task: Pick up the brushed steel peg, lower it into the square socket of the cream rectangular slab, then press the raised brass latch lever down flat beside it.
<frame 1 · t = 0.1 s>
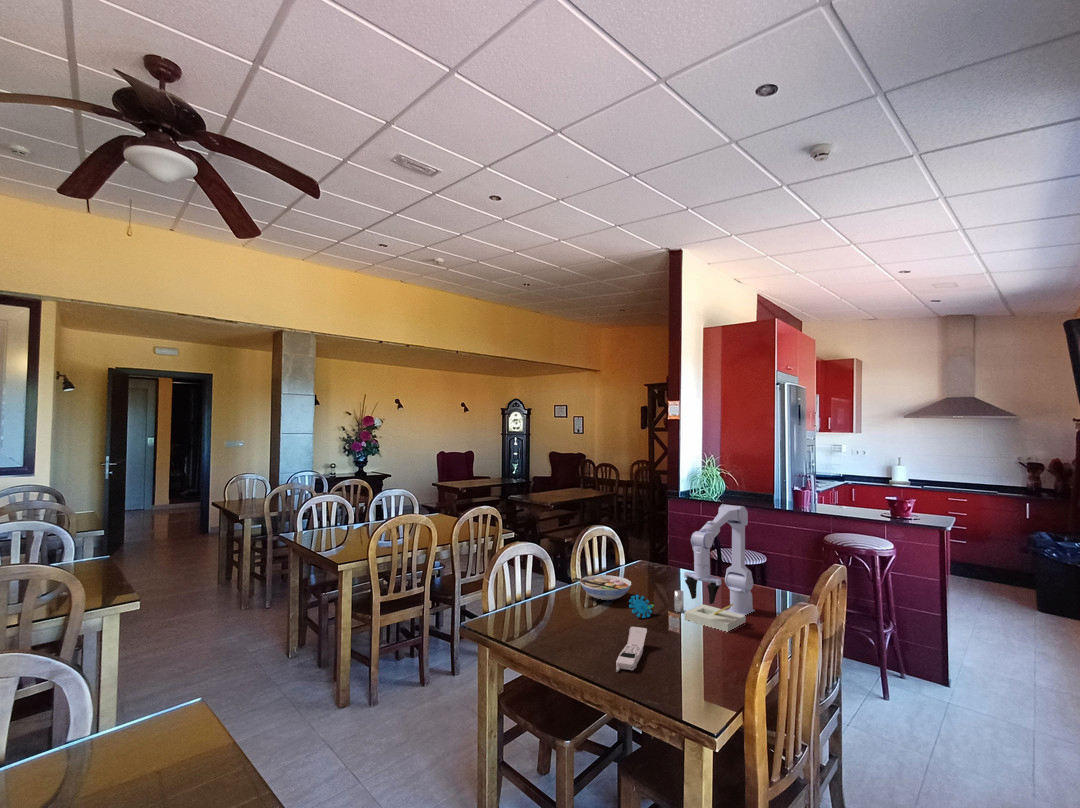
hand: (702, 600, 193), 10 cm above the table, tool pointing down, fingers open, 7 cm apart
peg: (679, 611, 212), on the table
blue spiky blob: (641, 616, 206), on the table
ramen bowl: (605, 599, 228), on the table
cream rectangular slab: (714, 621, 200), on the table
latch: (723, 609, 197), point 6 cm above the table, hinge at 35.0°, touching cream rectangular slab
mobile phone: (631, 659, 166), on the table
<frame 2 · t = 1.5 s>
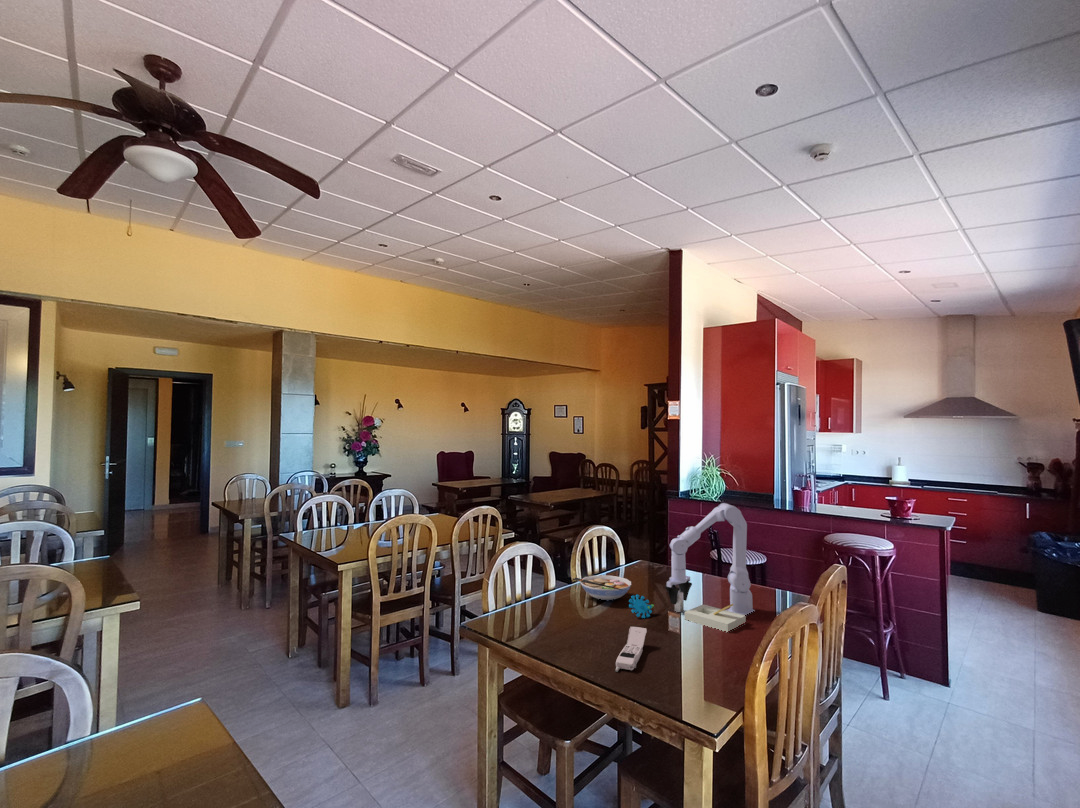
hand: (678, 601, 212), 4 cm above the table, tool pointing down, fingers open, 7 cm apart
nothing on the table moved.
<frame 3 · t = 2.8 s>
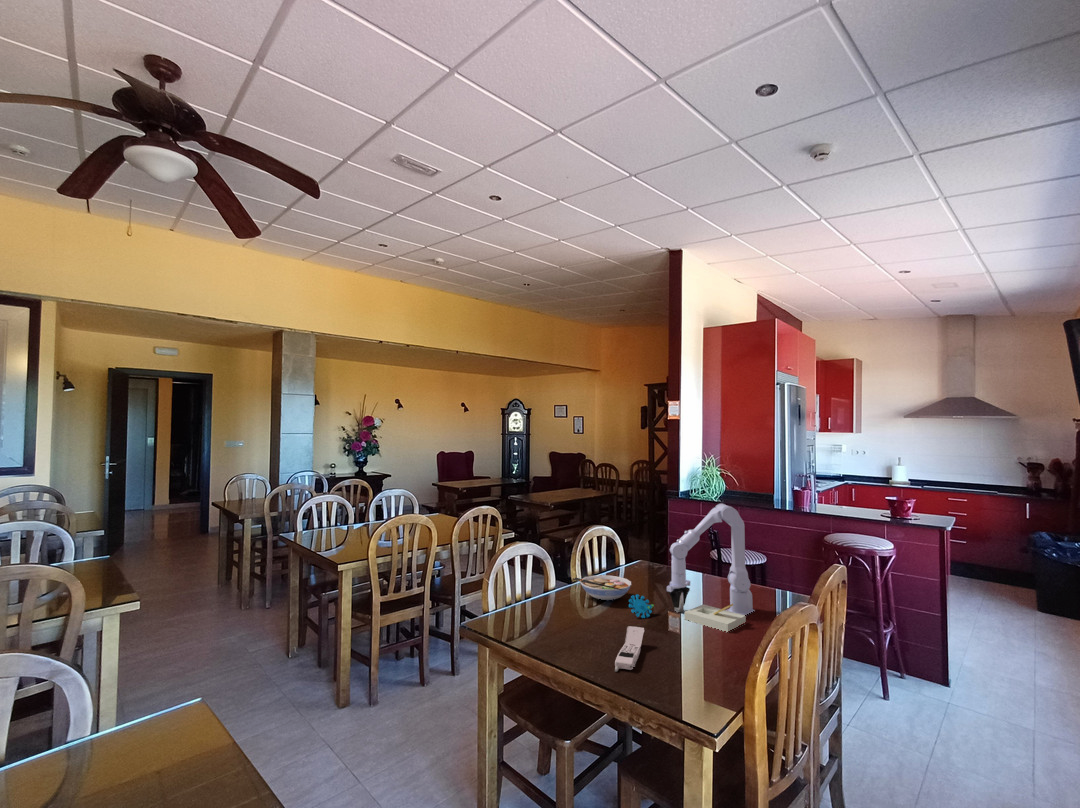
hand: (679, 606, 212), 2 cm above the table, tool pointing down, fingers closed on peg, 4 cm apart
peg: (679, 611, 212), on the table, touching gripper
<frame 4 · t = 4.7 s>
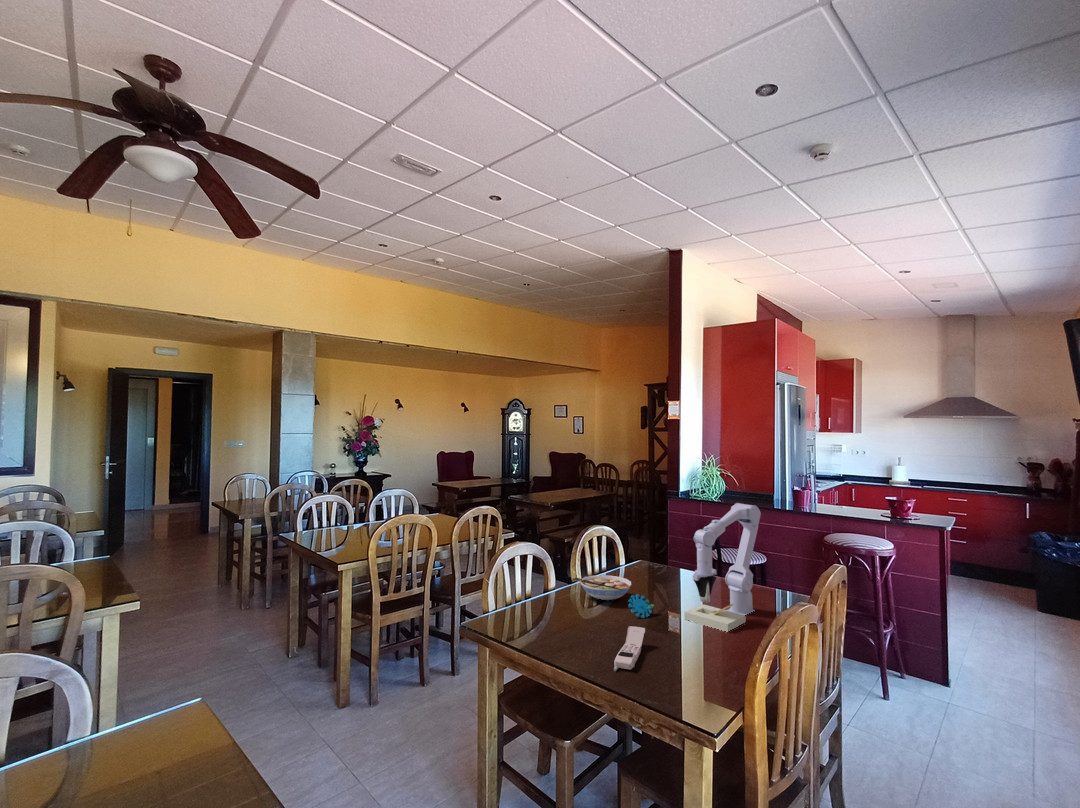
hand: (705, 595, 203), 9 cm above the table, tool pointing down, fingers closed on peg, 4 cm apart
peg: (705, 601, 203), point 7 cm above the table, touching gripper
everything else where it was.
when the fingers open (4 cm above the table, at t = 6.7 s): peg drops 2 cm, resting in cream rectangular slab.
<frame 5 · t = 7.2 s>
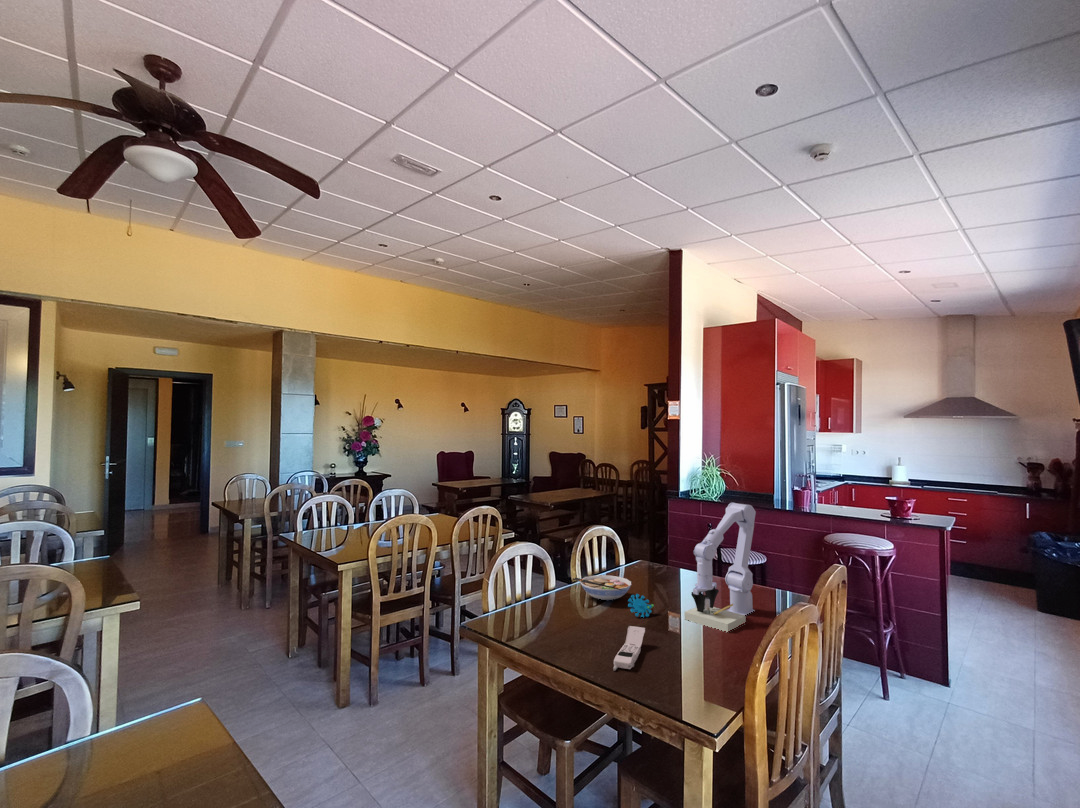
hand: (705, 609, 203), 4 cm above the table, tool pointing down, fingers open, 7 cm apart
peg: (705, 618, 203), resting in cream rectangular slab
everything else where it was.
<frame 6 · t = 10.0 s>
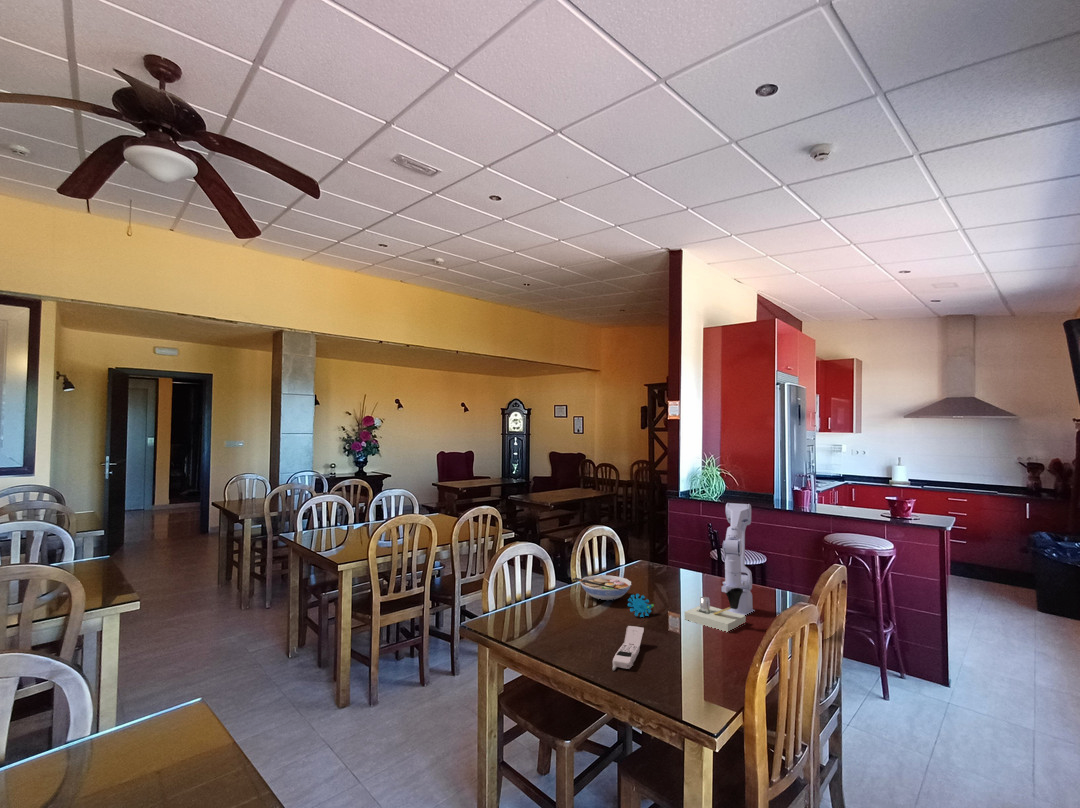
hand: (734, 608, 194), 7 cm above the table, tool pointing down, fingers closed, pressing on latch
latch: (723, 610, 197), point 5 cm above the table, hinge at 30.1°, touching gripper
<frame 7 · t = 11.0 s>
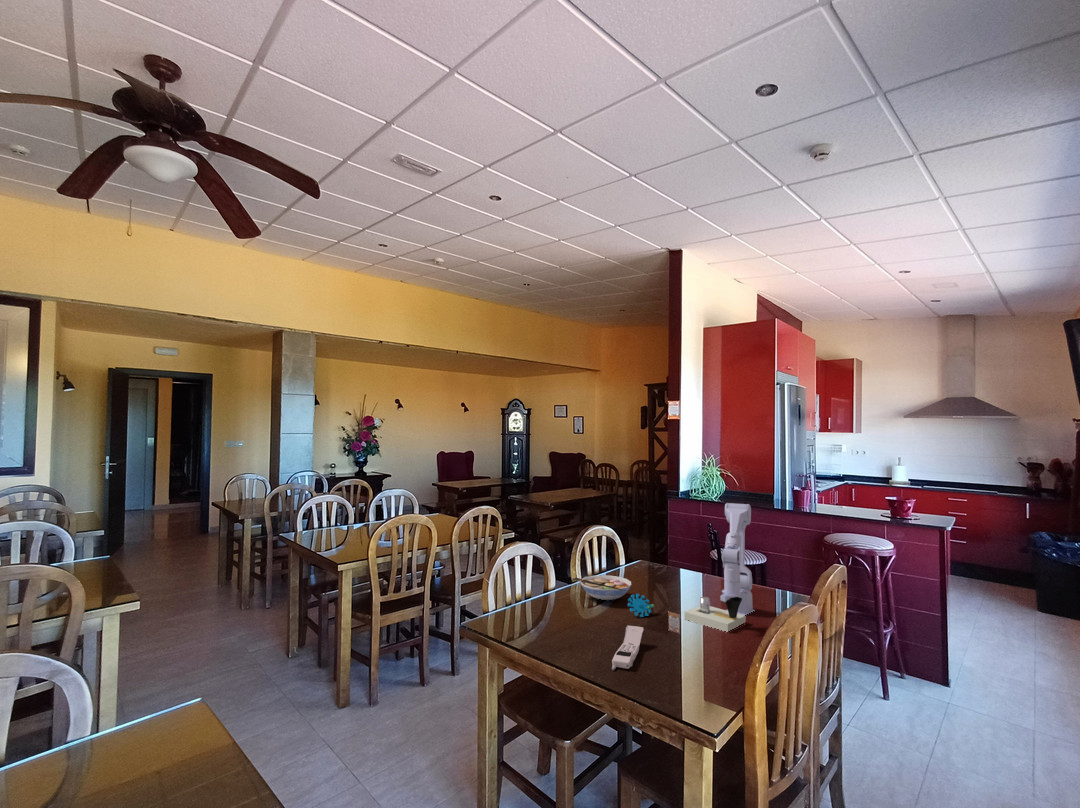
hand: (732, 617, 194), 4 cm above the table, tool pointing down, fingers closed
latch: (725, 615, 197), point 3 cm above the table, hinge at -0.1°, touching cream rectangular slab
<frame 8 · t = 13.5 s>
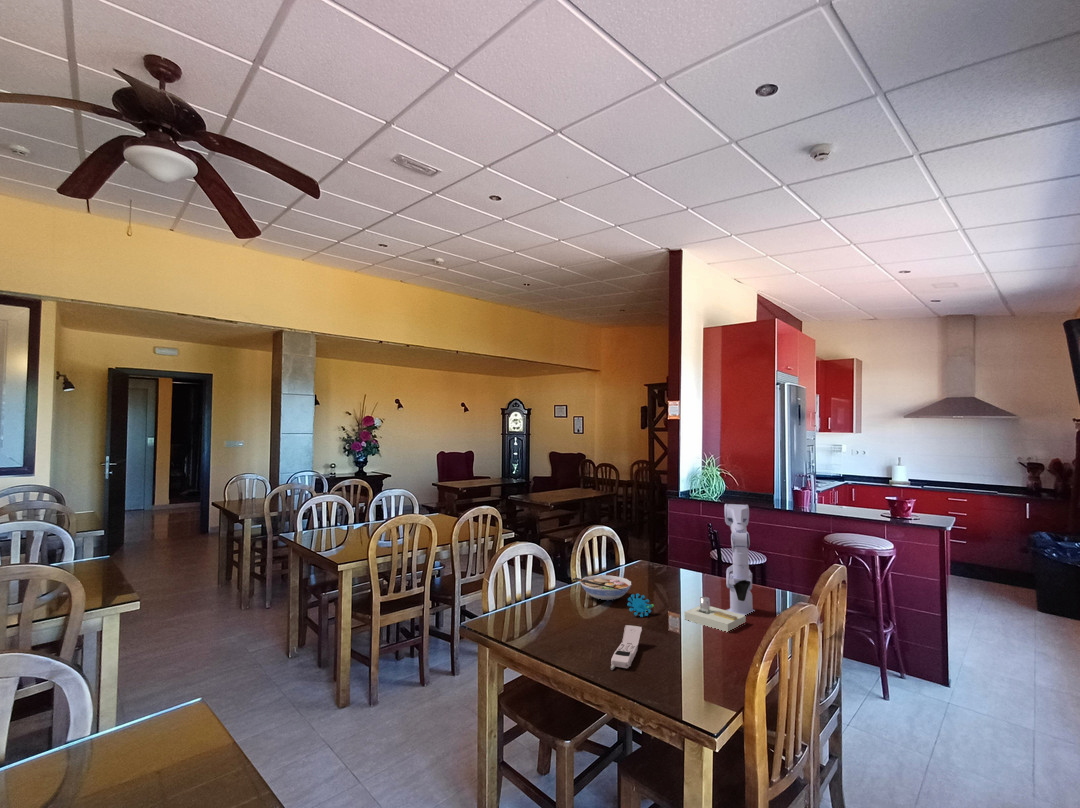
hand: (741, 600, 196), 9 cm above the table, tool pointing down, fingers closed
at the end: peg 0.1 cm from the target spot on the cream rectangular slab, point 0.0 cm above the cream rectangular slab's base; peg tilted 1°; latch at +0° (first picture: +35°) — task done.
